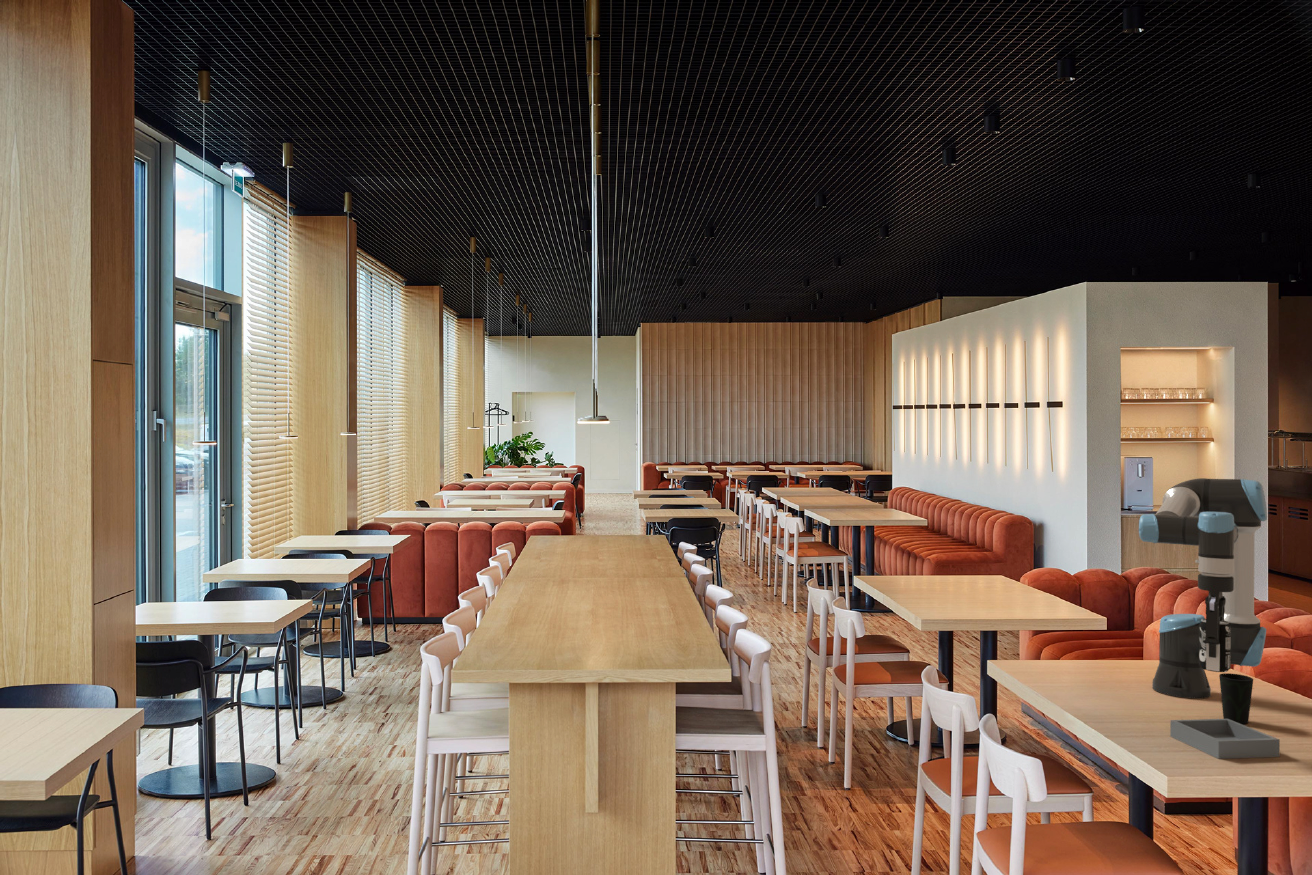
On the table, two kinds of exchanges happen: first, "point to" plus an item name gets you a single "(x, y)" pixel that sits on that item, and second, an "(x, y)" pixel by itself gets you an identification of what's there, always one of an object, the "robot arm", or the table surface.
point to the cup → (1236, 697)
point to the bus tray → (1224, 738)
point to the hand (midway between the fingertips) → (1214, 667)
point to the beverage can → (1223, 641)
